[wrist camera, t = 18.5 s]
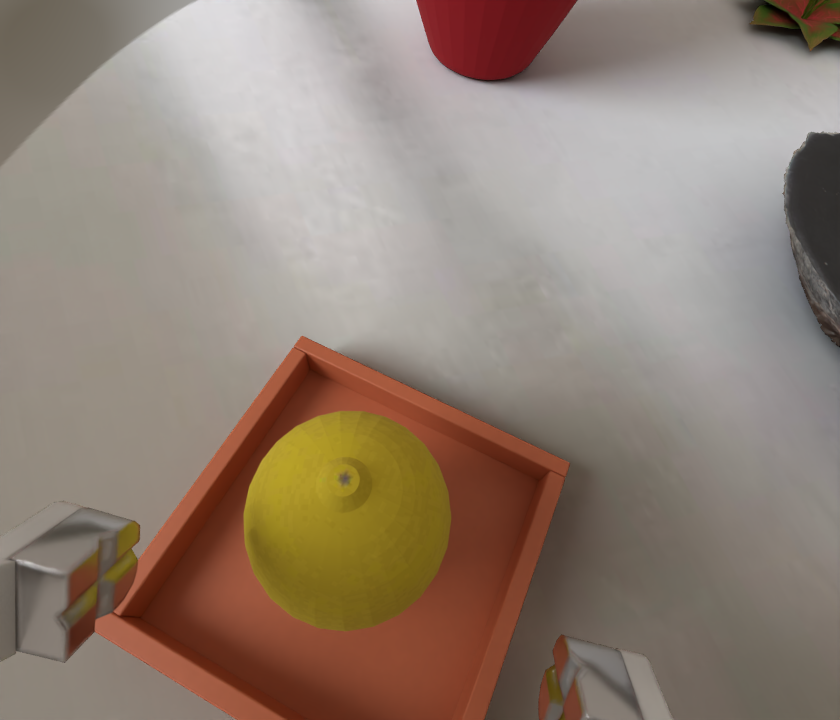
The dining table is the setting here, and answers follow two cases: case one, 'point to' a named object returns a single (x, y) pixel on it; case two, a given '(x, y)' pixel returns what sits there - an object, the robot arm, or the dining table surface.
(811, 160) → the board
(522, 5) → the vase
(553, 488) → the tray
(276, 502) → the lemon
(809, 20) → the lily flower
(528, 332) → the dining table surface
